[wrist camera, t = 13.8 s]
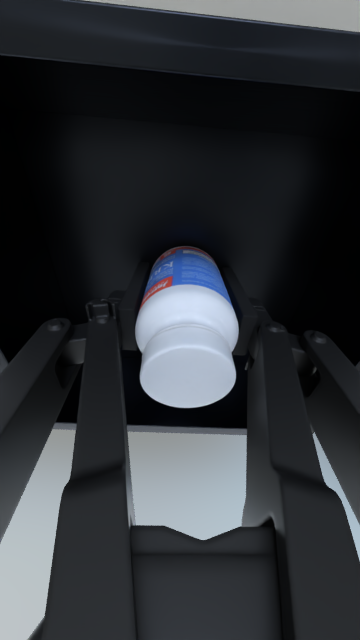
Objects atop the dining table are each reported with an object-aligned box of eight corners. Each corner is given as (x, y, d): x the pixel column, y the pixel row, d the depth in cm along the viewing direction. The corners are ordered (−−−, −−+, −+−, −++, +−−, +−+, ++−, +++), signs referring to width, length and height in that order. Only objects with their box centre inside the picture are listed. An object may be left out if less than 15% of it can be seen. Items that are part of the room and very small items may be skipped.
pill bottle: (164, 231, 14) (146, 305, 6) (231, 261, 16) (287, 354, 8) (141, 296, 17) (109, 402, 9) (199, 316, 18) (215, 426, 10)
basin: (388, 123, 12) (642, 63, 5) (273, 363, 23) (310, 437, 17) (-9, 84, 11) (-283, -45, 4) (76, 354, 23) (34, 428, 16)
